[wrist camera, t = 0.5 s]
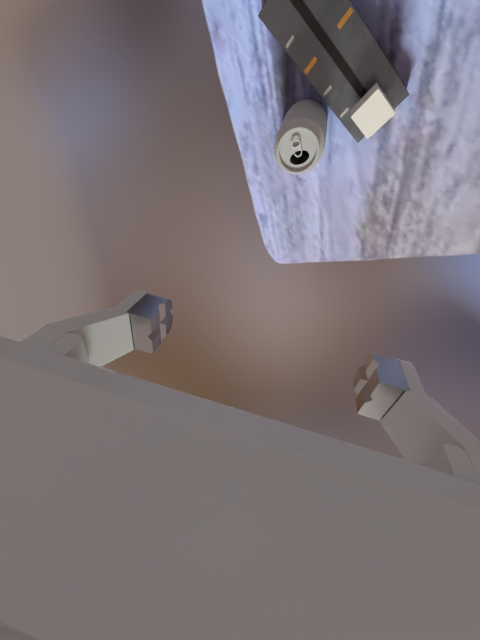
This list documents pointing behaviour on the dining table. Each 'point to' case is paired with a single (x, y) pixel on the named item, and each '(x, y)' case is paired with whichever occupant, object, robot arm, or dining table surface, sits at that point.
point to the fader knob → (372, 111)
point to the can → (301, 137)
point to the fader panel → (333, 53)
